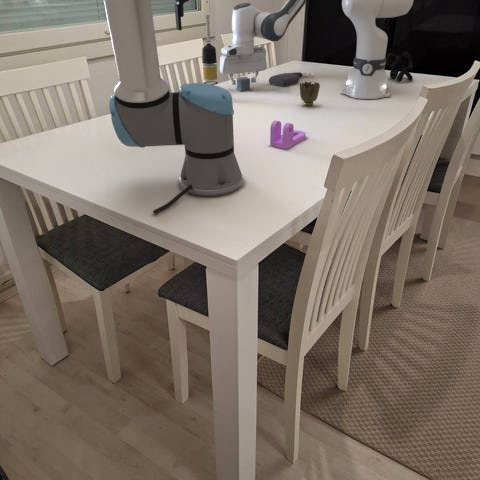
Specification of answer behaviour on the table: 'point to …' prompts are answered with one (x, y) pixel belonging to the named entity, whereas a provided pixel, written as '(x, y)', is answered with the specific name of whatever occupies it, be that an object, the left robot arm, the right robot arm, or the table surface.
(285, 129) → the bracket
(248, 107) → the table surface
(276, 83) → the spray bottle
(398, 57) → the squiggle
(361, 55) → the right robot arm
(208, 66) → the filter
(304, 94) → the cup
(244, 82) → the block
